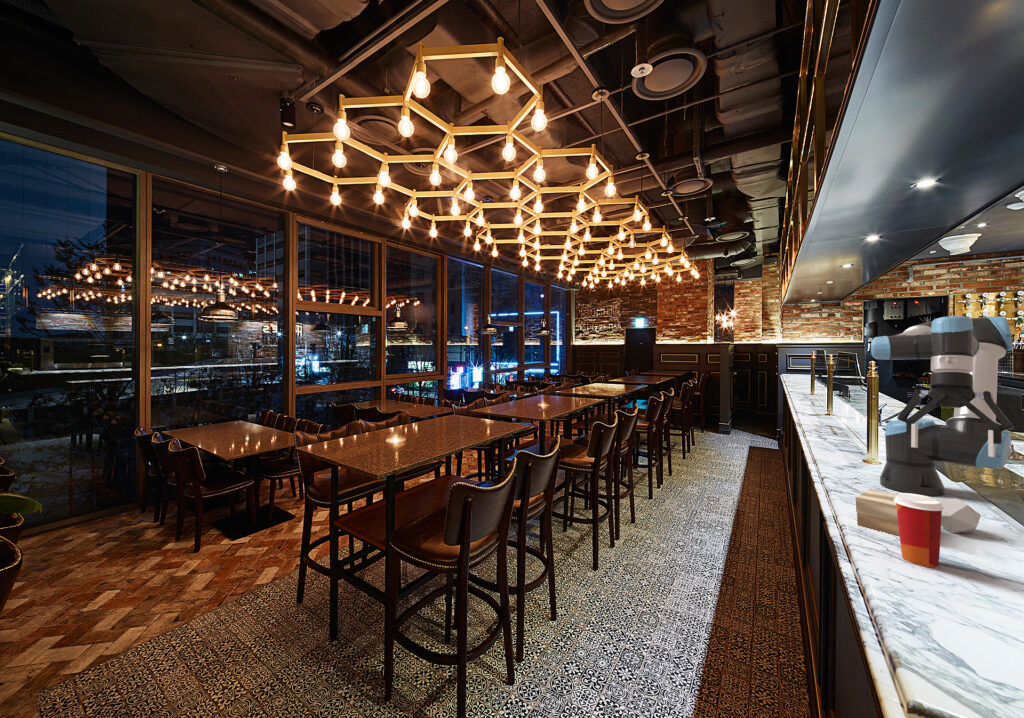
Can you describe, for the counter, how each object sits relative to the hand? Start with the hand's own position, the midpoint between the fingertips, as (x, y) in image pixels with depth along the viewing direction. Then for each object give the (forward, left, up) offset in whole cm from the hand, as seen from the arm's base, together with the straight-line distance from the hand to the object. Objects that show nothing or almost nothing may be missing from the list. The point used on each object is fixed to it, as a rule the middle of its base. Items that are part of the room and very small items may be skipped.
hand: (950, 452), depth 101 cm
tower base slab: (+13, -9, -20) cm, 26 cm away
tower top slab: (+13, -9, -16) cm, 23 cm away
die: (+3, +1, -20) cm, 20 cm away
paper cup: (+31, 0, -20) cm, 37 cm away
